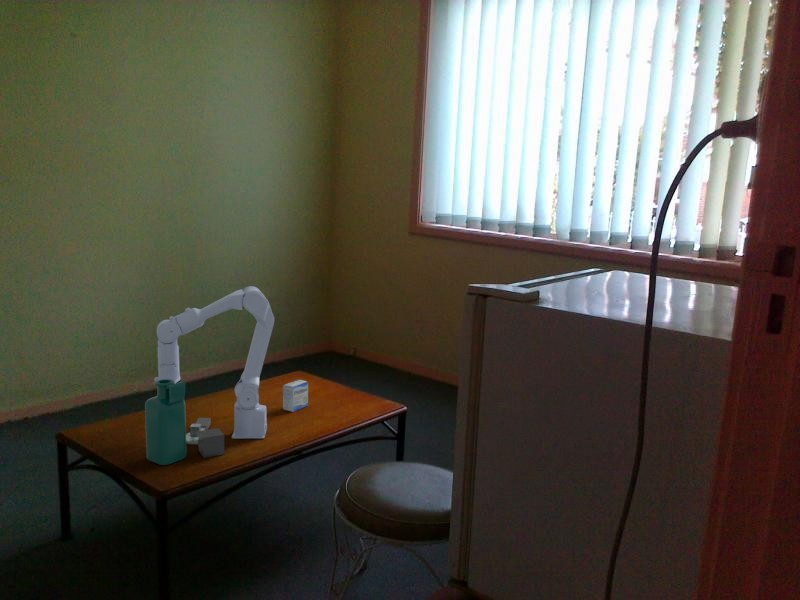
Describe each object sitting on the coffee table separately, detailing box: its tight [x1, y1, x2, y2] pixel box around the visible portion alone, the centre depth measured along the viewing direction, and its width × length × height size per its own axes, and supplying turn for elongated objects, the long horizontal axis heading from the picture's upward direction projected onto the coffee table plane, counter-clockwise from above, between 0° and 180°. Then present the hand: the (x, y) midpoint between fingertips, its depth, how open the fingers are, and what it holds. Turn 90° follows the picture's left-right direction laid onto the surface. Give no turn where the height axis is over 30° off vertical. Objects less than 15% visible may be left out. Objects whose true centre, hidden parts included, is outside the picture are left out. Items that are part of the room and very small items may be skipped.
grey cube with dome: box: [198, 427, 225, 459], centre depth 197 cm, size 6×6×6 cm
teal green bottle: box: [144, 379, 187, 466], centre depth 191 cm, size 10×8×22 cm
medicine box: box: [282, 379, 309, 413], centre depth 236 cm, size 8×4×9 cm, turn 148°
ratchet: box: [186, 417, 212, 446], centre depth 211 cm, size 17×6×5 cm, turn 5°
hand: (170, 408), depth 204 cm, fingers open, 7 cm apart
